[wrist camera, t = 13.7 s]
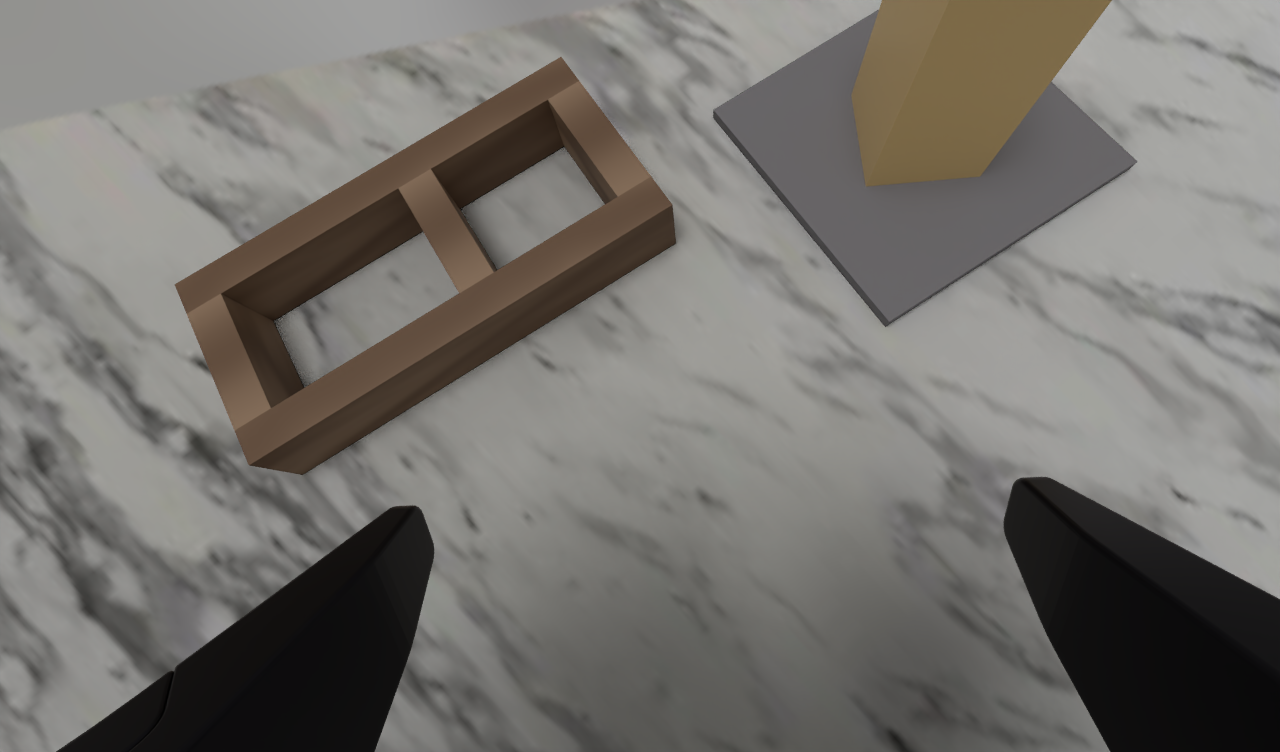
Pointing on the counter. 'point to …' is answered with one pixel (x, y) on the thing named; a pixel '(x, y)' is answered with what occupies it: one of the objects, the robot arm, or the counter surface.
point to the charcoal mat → (908, 212)
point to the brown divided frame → (430, 202)
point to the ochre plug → (957, 81)
